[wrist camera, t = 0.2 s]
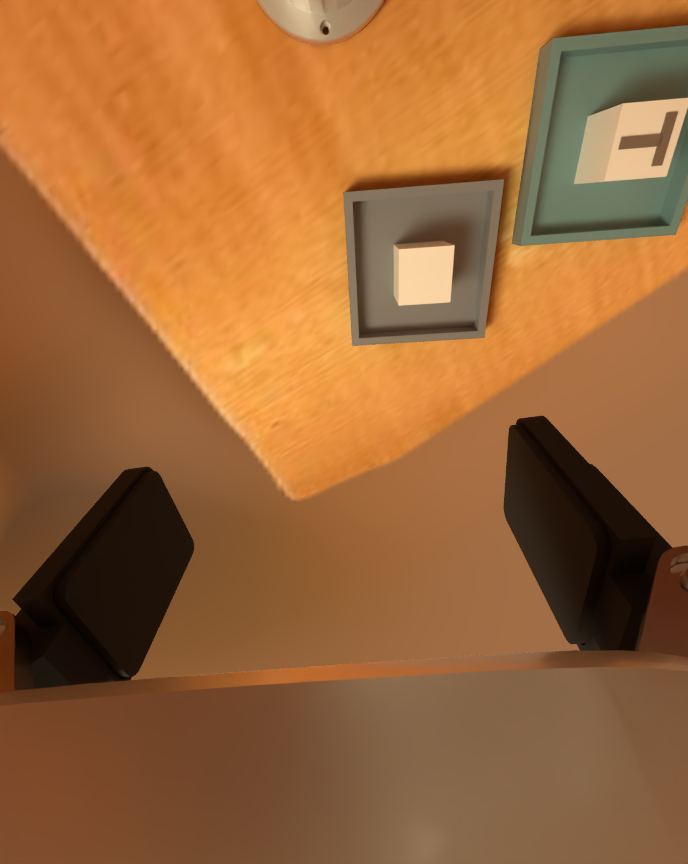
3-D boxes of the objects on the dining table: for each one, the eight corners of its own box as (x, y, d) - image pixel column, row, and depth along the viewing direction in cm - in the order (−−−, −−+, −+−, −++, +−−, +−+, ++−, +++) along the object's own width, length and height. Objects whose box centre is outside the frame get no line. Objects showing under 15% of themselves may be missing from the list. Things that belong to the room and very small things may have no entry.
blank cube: (393, 244, 39) (399, 249, 34) (443, 240, 38) (454, 245, 34) (393, 295, 41) (398, 305, 37) (439, 292, 41) (450, 302, 37)
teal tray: (539, 49, 31) (553, 38, 29) (723, 31, 31) (749, 19, 29) (511, 243, 39) (520, 245, 37) (658, 233, 38) (675, 234, 36)
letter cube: (587, 116, 33) (623, 103, 29) (646, 111, 33) (692, 97, 29) (573, 184, 36) (604, 181, 31) (628, 179, 36) (667, 176, 31)
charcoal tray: (343, 192, 37) (343, 192, 35) (495, 180, 36) (504, 179, 34) (352, 339, 44) (352, 345, 42) (478, 331, 44) (484, 337, 42)
